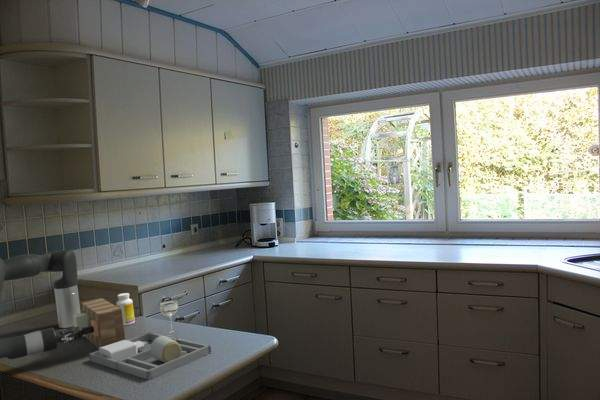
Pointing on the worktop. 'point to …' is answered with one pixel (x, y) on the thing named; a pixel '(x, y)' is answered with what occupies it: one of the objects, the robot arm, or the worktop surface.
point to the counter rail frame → (149, 370)
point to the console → (104, 322)
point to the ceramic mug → (166, 349)
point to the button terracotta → (95, 327)
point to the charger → (121, 349)
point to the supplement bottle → (126, 308)
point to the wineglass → (169, 309)
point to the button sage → (81, 320)
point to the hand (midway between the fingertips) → (93, 328)
